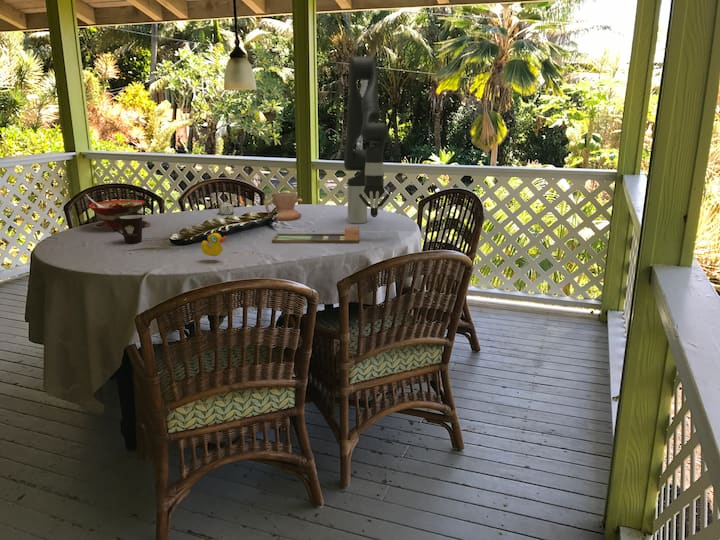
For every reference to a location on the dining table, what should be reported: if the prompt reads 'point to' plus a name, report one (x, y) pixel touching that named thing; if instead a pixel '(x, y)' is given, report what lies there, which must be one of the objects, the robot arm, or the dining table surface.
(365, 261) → the dining table surface
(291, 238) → the flat tray
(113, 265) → the dining table surface
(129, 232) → the coffee mug
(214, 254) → the duckling
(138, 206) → the stew
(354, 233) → the terracotta block
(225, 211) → the grey rounded lump
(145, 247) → the dining table surface
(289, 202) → the ceramic jug
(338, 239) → the trap pads
